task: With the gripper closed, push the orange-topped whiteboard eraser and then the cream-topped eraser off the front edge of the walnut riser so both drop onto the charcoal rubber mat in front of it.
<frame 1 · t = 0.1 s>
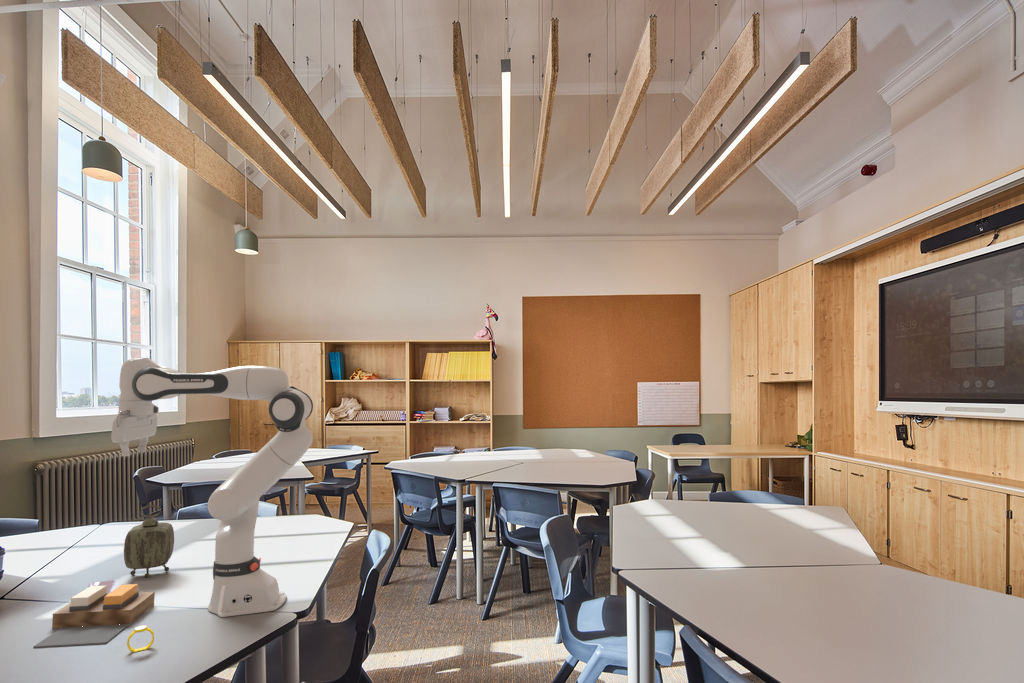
hand: (134, 453, 181), 48 cm above the table, fingers open, 8 cm apart
watch: (140, 650, 153), on the table
riser: (105, 615, 174), on the table
mobile phone: (98, 591, 196), on the table
tabletop clock: (148, 576, 209), on the table
eraser orange: (121, 602, 175), point 4 cm above the table, touching riser
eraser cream: (88, 603, 173), point 4 cm above the table, touching riser
mat: (83, 636, 161), on the table
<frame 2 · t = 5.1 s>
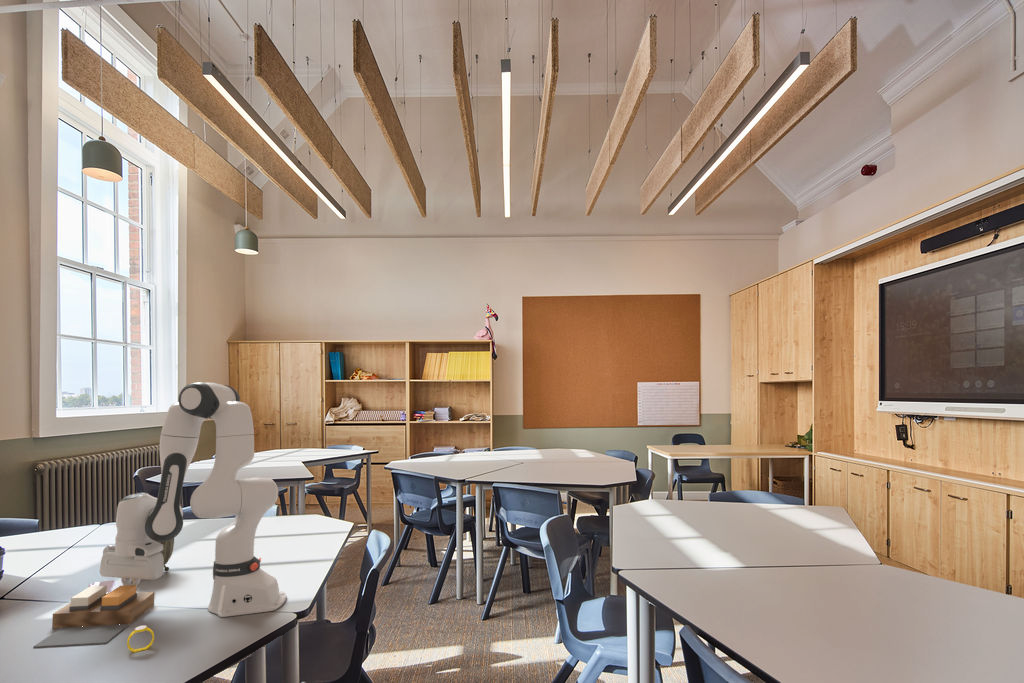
hand: (130, 591, 180), 5 cm above the table, fingers closed
eraser orange: (119, 603, 174), point 4 cm above the table, touching gripper, riser
everything else where it was.
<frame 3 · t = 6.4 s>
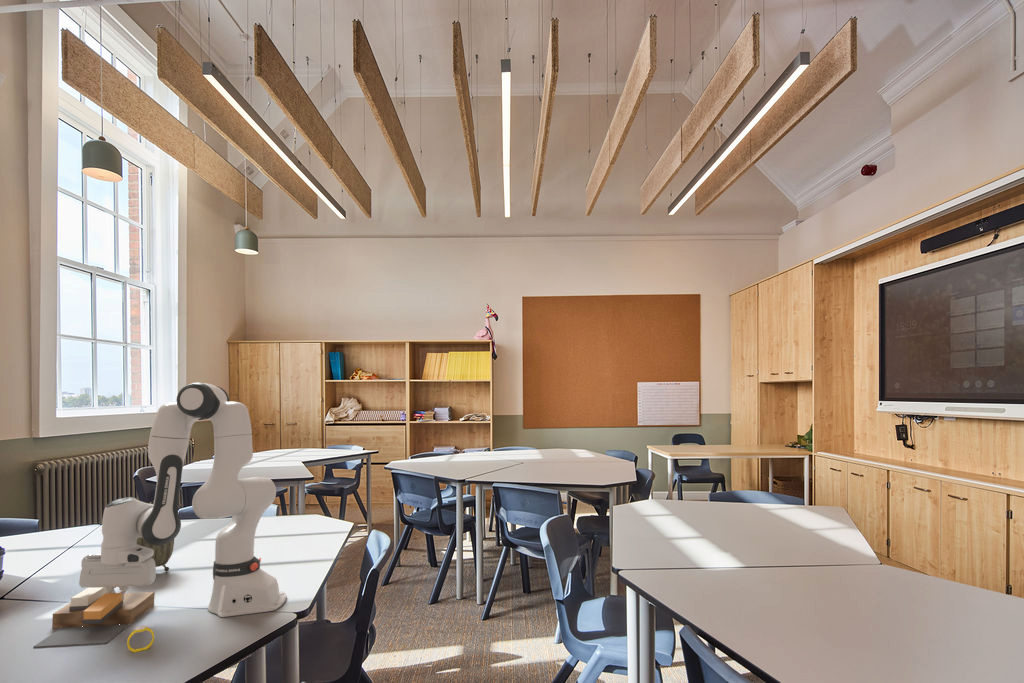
hand: (117, 601, 173), 5 cm above the table, fingers closed
eraser orange: (103, 613, 167), point 4 cm above the table, tilted 9°, touching gripper
everything else where it was.
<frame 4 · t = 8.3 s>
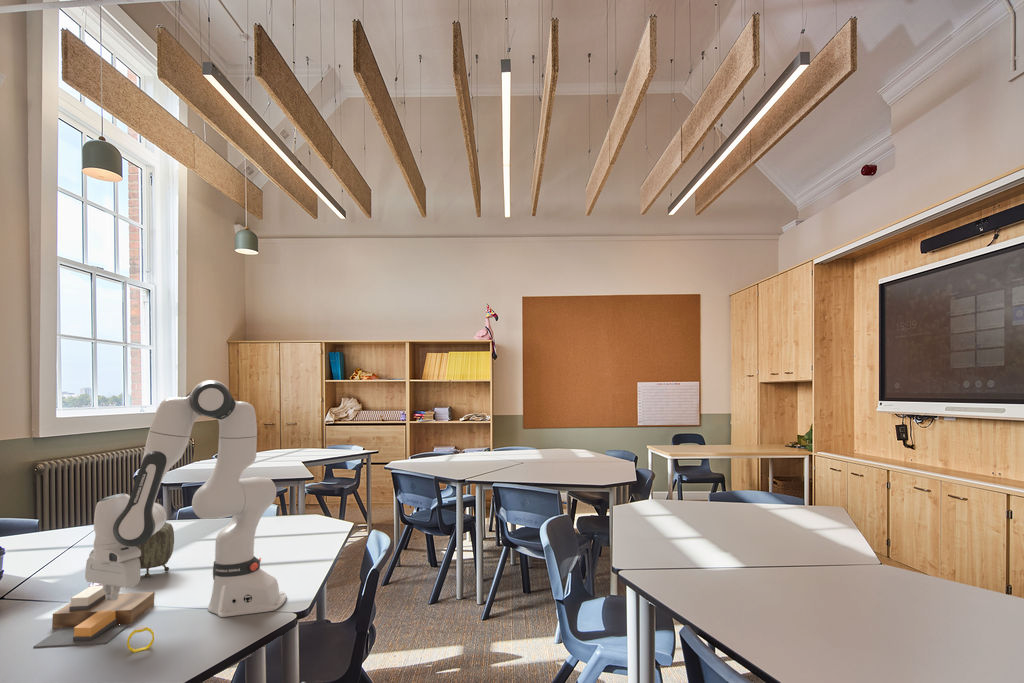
hand: (111, 599, 168), 7 cm above the table, fingers closed
eraser orange: (95, 631, 162), point 1 cm above the table, touching mat
everything else where it was.
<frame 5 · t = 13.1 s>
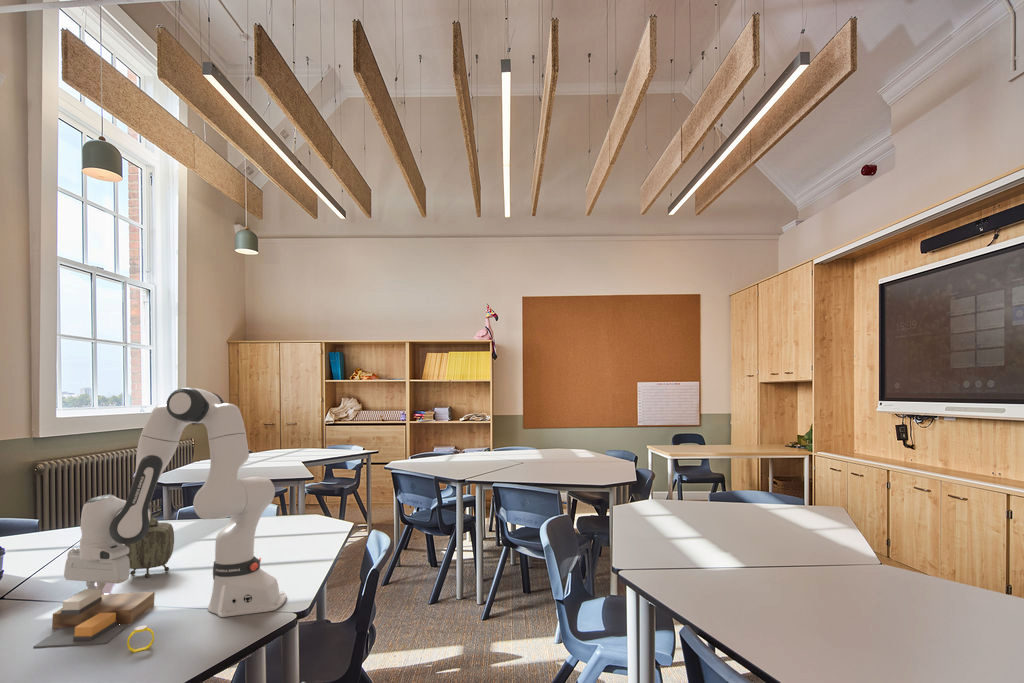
hand: (95, 595, 177), 5 cm above the table, fingers closed
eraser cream: (82, 607, 171), point 4 cm above the table, touching riser
everything else where it was.
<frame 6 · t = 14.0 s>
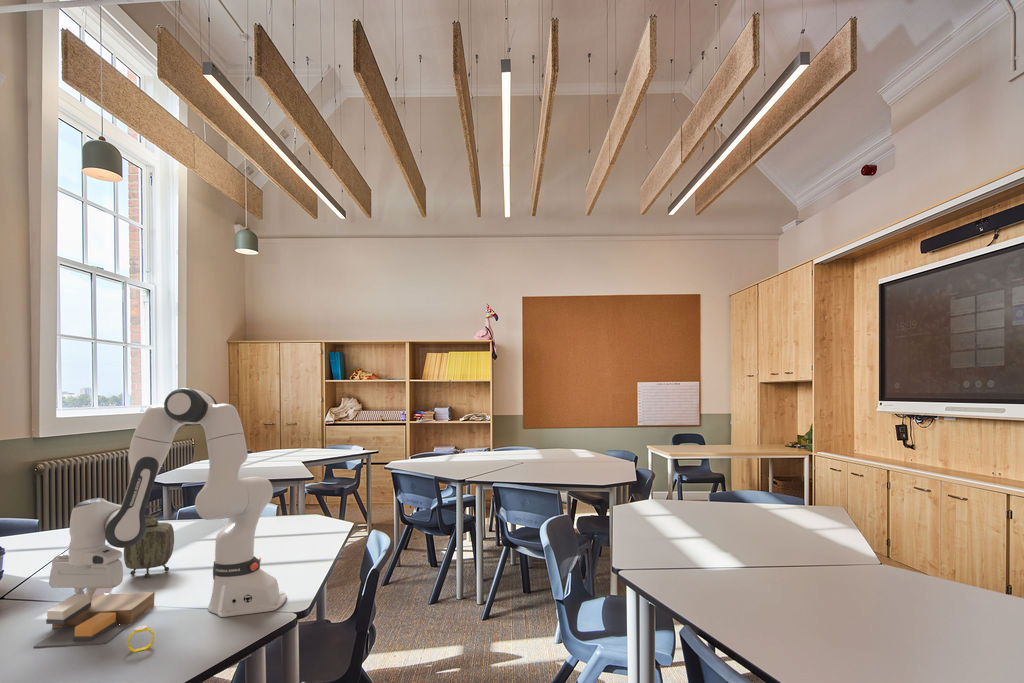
hand: (85, 602, 172), 5 cm above the table, fingers closed
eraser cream: (69, 614, 166), point 4 cm above the table, tilted 6°, touching gripper
everything else where it was.
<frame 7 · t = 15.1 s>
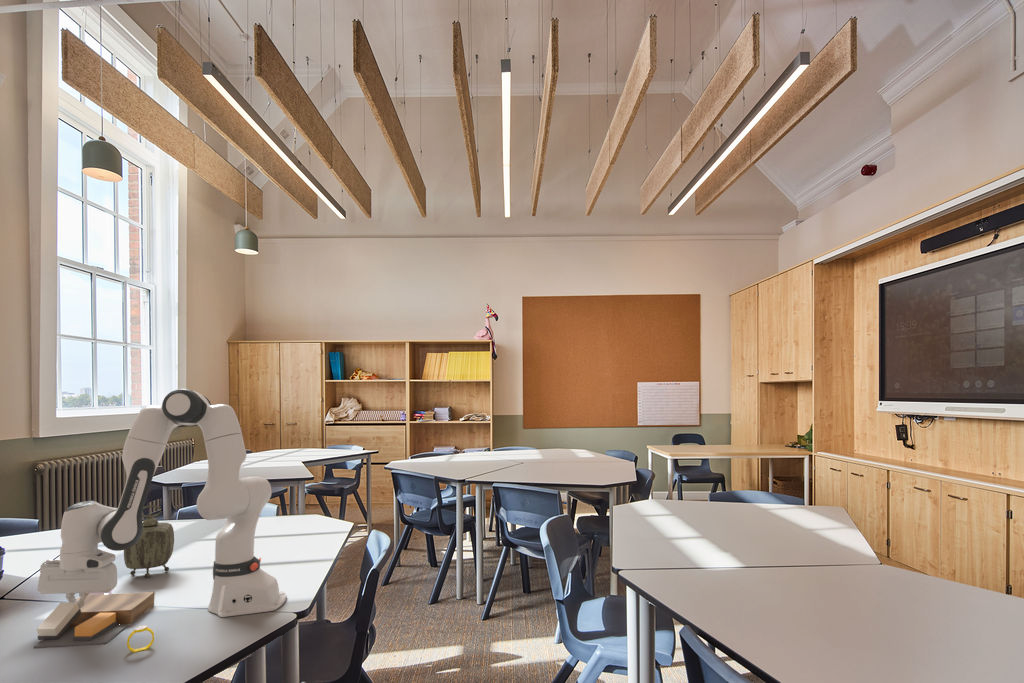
hand: (76, 607, 168), 5 cm above the table, fingers closed, pressing on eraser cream
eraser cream: (60, 625, 162), point 2 cm above the table, tilted 22°, touching gripper, mat
everything else where it was.
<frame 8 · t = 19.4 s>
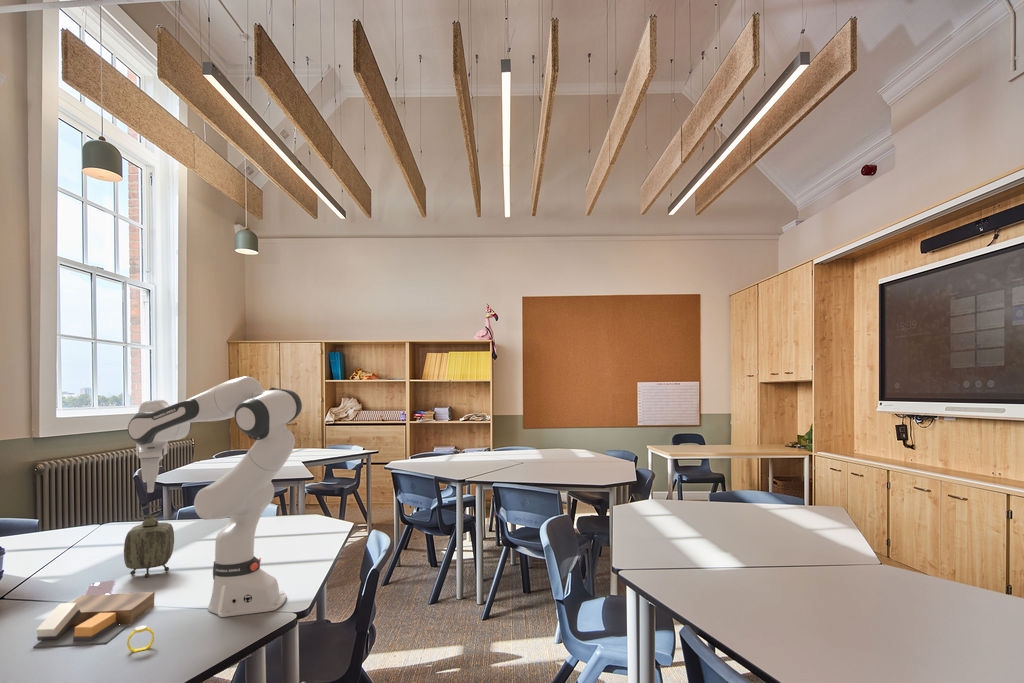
hand: (150, 491, 190), 34 cm above the table, fingers closed
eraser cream: (59, 626, 162), point 2 cm above the table, tilted 21°, touching mat, riser
everything else where it was.
at the end: eraser orange inside the target area (3.0 cm from its centre), resting on mat; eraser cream inside the target area (7.7 cm from its centre), point 2.2 cm above the table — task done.
